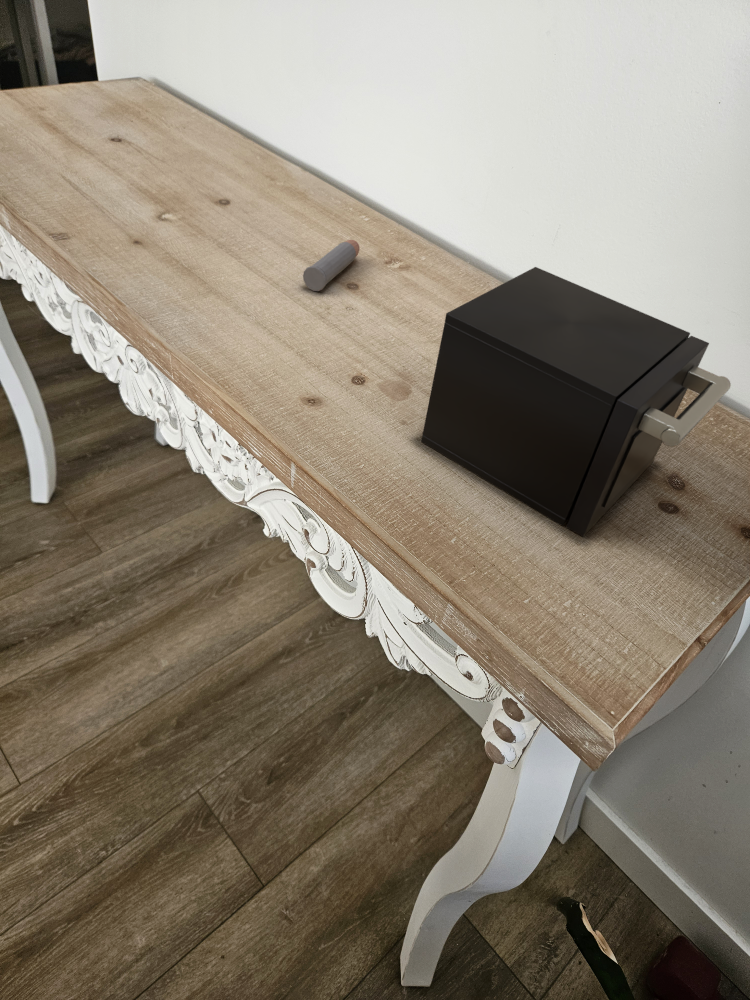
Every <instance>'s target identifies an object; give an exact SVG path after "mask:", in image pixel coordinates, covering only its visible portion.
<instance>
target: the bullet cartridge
mask: <svg viewBox="0 0 750 1000" xmlns="http://www.w3.org/2000/svg"><path fill="white" fill-rule="evenodd" d="M359 253H360V245H359V243H358V241H356V240H354V239H347V240H345V241H342V242H340V243H338V244H337V245H336V246H334V247H333V248H332V249H331V250H330V251H328V252H327V253H326V254H325V255H324V256H322V257H321V258H320V259H318V260H317V261H315V262H314V263H313V264H312V265H309V266H308V267H306V268H305V269H304V270H303V273H302V279H303V282H304V284H305V286H306V287H307V288H308V289H309V290H311V291H313V292H319V291H322V290H323V289H324V288H325V287H326V285H328V284H329V282H331V281H332V280H333V279H334V278H335V277H336V276H338V275H339V274H340V273H341V272H342V271H344V270H345V269H346V268H347V267H348V266H349V265H350V264H351V263H353V262H354V261H355V260H356V258H357V257H358V255H359Z"/></svg>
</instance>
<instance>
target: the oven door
mask: <svg viewBox="0 0 750 1000" xmlns="http://www.w3.org/2000/svg"><path fill="white" fill-rule="evenodd" d="M709 345H710V342H708V341H705V340H703V339H701V338H698V337H695V336H694V335H689V337H688V339H687V340H685V341H684V342H683V343H682V344H681V345H680V346H679V347H677V348H676V349H675V350H674V351H673V352H672V353H670V354H669V355H668V356H667V357H666V358H665V359H664V360H662V361H661V362H660V363H659V364H658V365H657V366H656V367H654V368H653V369H652V370H651V371H650V372H649V373H648V374H646V375H645V376H644V377H643V378H642V379H641V380H639V381H638V382H637V383H636V384H635V385H634V386H633V387H631V388H630V389H629V390H628V391H627V392H626V393H625V394H623V395H622V396H621V397H620V398H619V399H618V400H617V402H616V404H615V407H614V409H613V412H612V414H611V417H610V419H609V422H608V424H607V427H606V429H605V432H604V434H603V437H602V439H601V442H600V444H599V447H598V449H597V452H596V454H595V457H594V459H593V462H592V464H591V467H590V469H589V472H588V474H587V477H586V479H585V481H584V484H583V486H582V489H581V491H580V494H579V496H578V499H577V501H576V504H575V506H574V509H573V511H572V514H571V516H570V519H569V521H568V522H567V523H566V528H567V529H569V530H570V531H572V532H574V533H576V534H578V535H579V536H581V537H585V535H587V534H588V532H589V531H590V530H591V529H592V528H593V527H594V526H595V525H596V523H597V522H599V521H600V519H601V518H602V517H603V516H604V515H605V514H606V513H607V512H608V511H609V510H610V509H611V508H612V506H614V504H616V502H617V501H618V500H619V499H620V498H621V497H622V496H623V495H624V494H625V492H627V490H628V489H629V488H630V487H631V486H632V485H633V484H634V483H635V482H636V481H637V480H638V479H639V478H640V477H641V476H642V475H643V473H644V472H645V471H646V470H647V469H648V468H649V467H650V466H651V465H652V464H653V462H654V460H655V458H656V456H657V454H658V452H659V450H660V448H661V446H662V444H663V445H664V446H666V447H669V448H675V447H678V446H679V445H680V444H681V443H682V442H683V440H684V439H685V438H686V437H687V436H688V435H689V434H690V433H691V432H692V430H694V428H695V427H697V425H698V424H699V423H700V422H701V421H702V420H703V419H704V417H705V416H706V415H708V413H709V412H710V411H711V410H712V409H713V408H714V407H715V406H716V404H718V403H719V401H720V400H721V399H722V398H723V397H724V395H725V394H727V392H729V390H730V389H731V386H732V385H731V384H732V383H731V380H730V379H729V378H728V377H726V376H723V375H717V374H715V373H713V372H710V371H708V370H705V369H703V368H701V367H700V366H699V365H700V364H701V362H702V360H703V357H704V356H705V353H706V351H707V349H708V347H709ZM688 390H690V391H692V392H695V393H696V394H698V395H697V396H696V397H695V398H694V399H693V400H692V401H691V402H690V403H689V404H688V405H687V406H686V408H684V409H683V410H682V411H681V413H680V414H679V415H677V416H676V414H677V412H678V411H679V409H680V406H681V404H682V401H684V400H683V399H684V397H685V396H686V394H687V391H688ZM675 416H676V417H675Z"/></svg>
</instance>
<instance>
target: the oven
mask: <svg viewBox="0 0 750 1000" xmlns="http://www.w3.org/2000/svg"><path fill="white" fill-rule="evenodd" d="M690 336H691V332H689V331H687V330H684V329H682V328H680V327H677V326H675V325H673V324H670V323H668V322H665V321H663V320H661V319H658V318H656V317H654V316H652V315H649V314H647V313H644V312H643V311H640V310H638V309H635V308H633V307H631V306H628V305H627V304H624V303H622V302H619V301H617V300H614V299H612V298H610V297H607V296H605V295H602V294H600V293H598V292H595V291H593V290H591V289H589V288H587V287H584V286H582V285H580V284H577V283H575V282H573V281H570V280H568V279H565V278H563V277H561V276H558V275H556V274H553V273H551V272H548V271H547V270H544V269H542V268H539V267H538V266H534V267H532V268H530V269H529V270H526V271H525V272H523V273H521V274H519V275H517V276H515V277H514V278H512V279H509V280H508V281H505V282H504V283H501V284H499V285H497V286H496V287H494V288H491V289H490V290H488V291H486V292H484V293H482V294H480V295H479V296H476V297H475V298H473V299H471V300H469V301H467V302H464V304H462V305H459V306H457V307H456V308H454V309H451V310H450V311H447V312H446V313H445V317H444V323H443V329H442V334H441V339H440V343H439V348H438V354H437V359H436V364H435V369H434V375H433V379H432V386H431V388H430V393H429V400H428V403H427V409H426V415H425V420H424V425H423V429H422V436H421V440H420V443H422V444H424V445H425V446H427V447H429V448H430V449H433V450H434V451H436V452H438V453H439V454H441V455H442V456H444V457H446V458H447V459H449V460H451V461H453V463H455V464H458V465H459V466H461V467H463V468H464V469H465V470H468V471H469V472H472V474H474V475H476V476H478V477H479V478H481V479H482V480H483V481H485V482H487V483H489V484H491V485H492V486H494V487H496V488H498V489H499V490H501V491H503V492H504V493H506V494H508V495H509V496H511V497H512V498H514V499H517V500H518V501H520V502H521V503H523V504H524V505H526V506H528V507H530V508H531V509H532V510H535V511H536V512H538V513H540V514H541V515H543V516H544V517H546V518H548V519H550V520H551V521H553V522H555V523H557V524H558V525H559V526H561V527H564V526H565V525H567V524H568V521H569V519H570V516H571V514H572V511H573V509H574V506H575V504H576V501H577V499H578V496H579V494H580V491H581V489H582V486H583V484H584V481H585V479H586V477H587V474H588V472H589V469H590V467H591V464H592V462H593V459H594V457H595V454H596V452H597V449H598V447H599V444H600V442H601V439H602V437H603V434H604V432H605V429H606V427H607V424H608V422H609V419H610V417H611V414H612V412H613V409H614V407H615V404H616V402H617V400H618V399H619V398H620V397H621V396H622V395H623V394H625V393H626V392H627V391H628V390H629V389H630V388H631V387H633V386H634V385H635V384H636V383H637V382H638V381H639V380H641V379H642V378H643V377H644V376H645V375H646V374H648V373H649V372H650V371H651V370H652V369H653V368H654V367H656V366H657V365H658V364H659V363H660V362H661V361H662V360H664V359H665V358H666V357H667V356H668V355H669V354H670V353H672V352H673V351H674V350H675V349H676V348H677V347H679V346H680V345H681V344H682V343H683V342H684V341H685V340H687V339H688V338H689V337H690Z"/></svg>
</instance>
